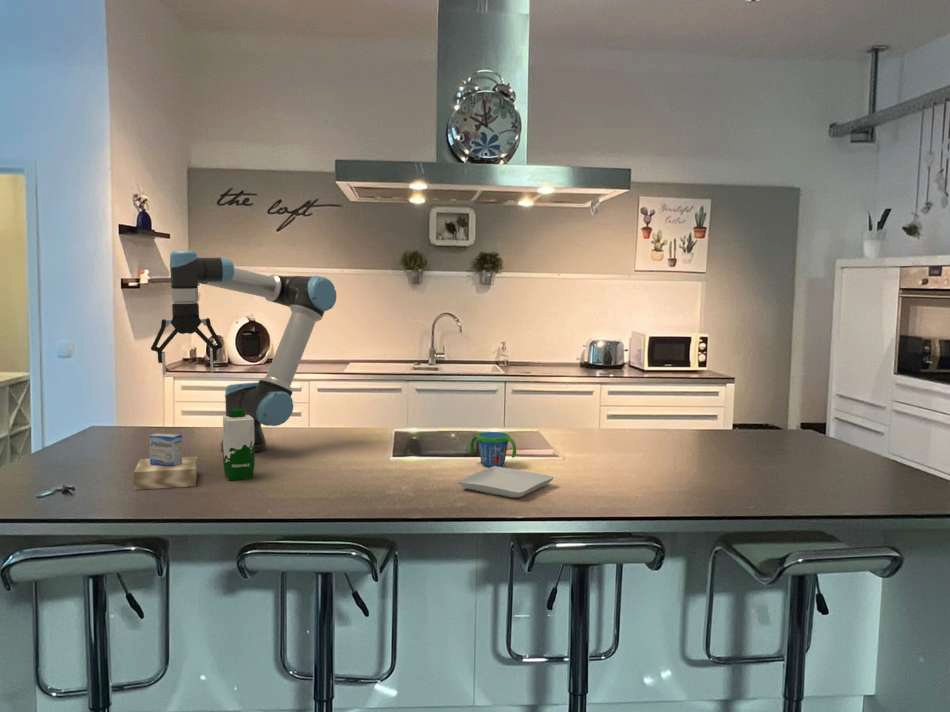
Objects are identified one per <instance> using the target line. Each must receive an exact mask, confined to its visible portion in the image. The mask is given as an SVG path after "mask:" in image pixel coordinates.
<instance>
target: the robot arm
mask: <svg viewBox="0 0 950 712" xmlns="http://www.w3.org/2000/svg"><path fill="white" fill-rule="evenodd" d="M169 256H170V257H169V268H170V286H171V288H170V290H171V291H170V292H171V293H170V295H171V302H173V303H172V304H171V306H172V307H171V308H172V310H171V312H172V319H166V318H162V320H161V324H160V328H159V331H158V332H157V335H156V337H155V339H154V341H153V343H152V345H151V346H150V350H151V351H153V352H156V353H157V362H158V364H162V368H161V369H162V375H166V374H167V368H166V367H167V366H166V352H165V351H164V349H165V348H166V347H167V346H168V345H169V343H170V342H171V341H172V340H173V339H174V337H175V336H177V334H181V335H184V334H188V335H190V334H191V335H192V334H194V333H195V334H196V335H197V336H198V337H200V338H201V340H203V342H205V344H206V345H207V346H208V348H210V349H209V360H210V361H209V362H210V363H209V364H210V373H214V362H216V361H217V360H218V355H217V354H218V352H217V351H218V350H220V349H223V343H222V342H221V340H220V338H219V337H218V335H217V333H216V332H215V330H214V328H213V326H212V323H211V319H210V318H209V317H206V318H203V319H201V317H200V306H199V303H198V302H199V284H201V285H206V286H211V287H215V288H220V289H225V290H229V291H235V292H239V293H243V294H248V295H251V296H256V297H260V298H264V299H265V301H267V302H269V303H270V302H272V303H275V304H278V305H282V306H284V307H288V308H289V309H290V312H291V315H290V317H289V319H288V322H287V324H286V327H285V329H284V331H283V334H282V336H281V339H280V341H279V343H278V345H277V349H276V351H275V354H274V356H273V358H272V362H271V364H270V366H269V368H268V371H267V373H266V375H265V376H264V377H263V378H260V379H258V382H256V381H255V382H247V383H246V382H243V383H234V384H229V385H227V386H226V387H225V394H224V399H225V416H230V410H231V409H244V415H250V416H251V417H252V418H253V419H254V444H255V453H260V452H263V451H265V450H266V449H267V441H266V438H265V437H266V436H265V434H264V431H263V429H262V425H263V426H265V427H266V426H267V427H270V426H271V427H277V426H278V427H279V426H280V425H282V424H285V423H286V422H287V421H288V420H289V419H290V417H291V415H292V414H293V411H294V403H293V402H294V401H293V398H292V395H293V389H292V387H291V385H292V382H293V380H294V377H295V375H296V373H297V370H298V368H299V365H300V362H301V360H302V358H303V355H304V352H305V351H306V350H305V349H306V347H307V345H308V342H309V340H310V337H311V335H312V332H313V330H314V327H315V324H316V323H317V322H320V321H321V320H322V319H323V316H324V314H325V312H327V311H329V310H331V309H333V308H334V306H335V304H336V301H337V291H336V289H335V285H334V283H333V282H332V281H331V280H330V279H329V278H327V277H324V276H318V275H313V276H312V275H311V276H307V275H306V276H304V275H288V276H287V275H278V274H274V273H273V274H271V275H265V274H262V273H257V272H253V271H249V270H245V269H241V268H236V267H235V266H234V263H233V261H232V260H231V259H230V258H228V257H198V255H197V252H196V251H194V250H173V251H171V252H170V255H169ZM201 324H203V326H205V327H206V328H207V329H208V331H209V334H210V335H211V337H212V338H213V340H214V342H215V343H216V345H215V344H214V343H213V342H212V341H211V339H209V338H208V337H207V336H206V335H205V334H204V333H203V332H202V330H201V329H199V326H200V325H201ZM169 325H172V327H173V328H174V329H173V330H172V332H171V333H170V334H169V336H168V337H166V339H164V341H163V343H162V344H161V345H160V346H158V345H159V343H160V340H161V338H162V336H163V334H164V332H165V330H166V328H167V327H169ZM220 451H221V452H222V453H223V438H222V439H221V441H220ZM259 451H260V452H259Z"/></svg>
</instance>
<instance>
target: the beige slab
mask: <svg viewBox="0 0 950 712" xmlns="http://www.w3.org/2000/svg"><path fill="white" fill-rule="evenodd" d="M197 478H198V456H182V463H181V464H179V465H176V466H161V465H151V464H150V458H140V459H139V460H138V463H137V465H136V467H135V468H134V471H133V489H134V490H135V491H136V490H149V489H151V490H152V489H169V488H170V489H171V488H185V487H186V488H188V486H191V487H196V484H197Z"/></svg>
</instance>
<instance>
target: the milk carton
mask: <svg viewBox="0 0 950 712" xmlns="http://www.w3.org/2000/svg"><path fill="white" fill-rule="evenodd" d="M222 439H223V452H222V464H223V471H224V476H225V477H226V478H227V480H228V481H238V480H240V481H241V480H249V479H254V473H255V472H254V471H255V455H256V452H255V444H254V419H253V418H252V417H251V416H250V415H244V409H231V410H230V416H226V415H223V416H222Z"/></svg>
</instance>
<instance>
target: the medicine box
mask: <svg viewBox="0 0 950 712" xmlns="http://www.w3.org/2000/svg"><path fill="white" fill-rule="evenodd" d="M182 457H183V434H177V433H176V434H175V433H160V432H156V433H153V434H151V435H149V459H150V464H151V465H161V466H176V465H179V464H181V463H182Z"/></svg>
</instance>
